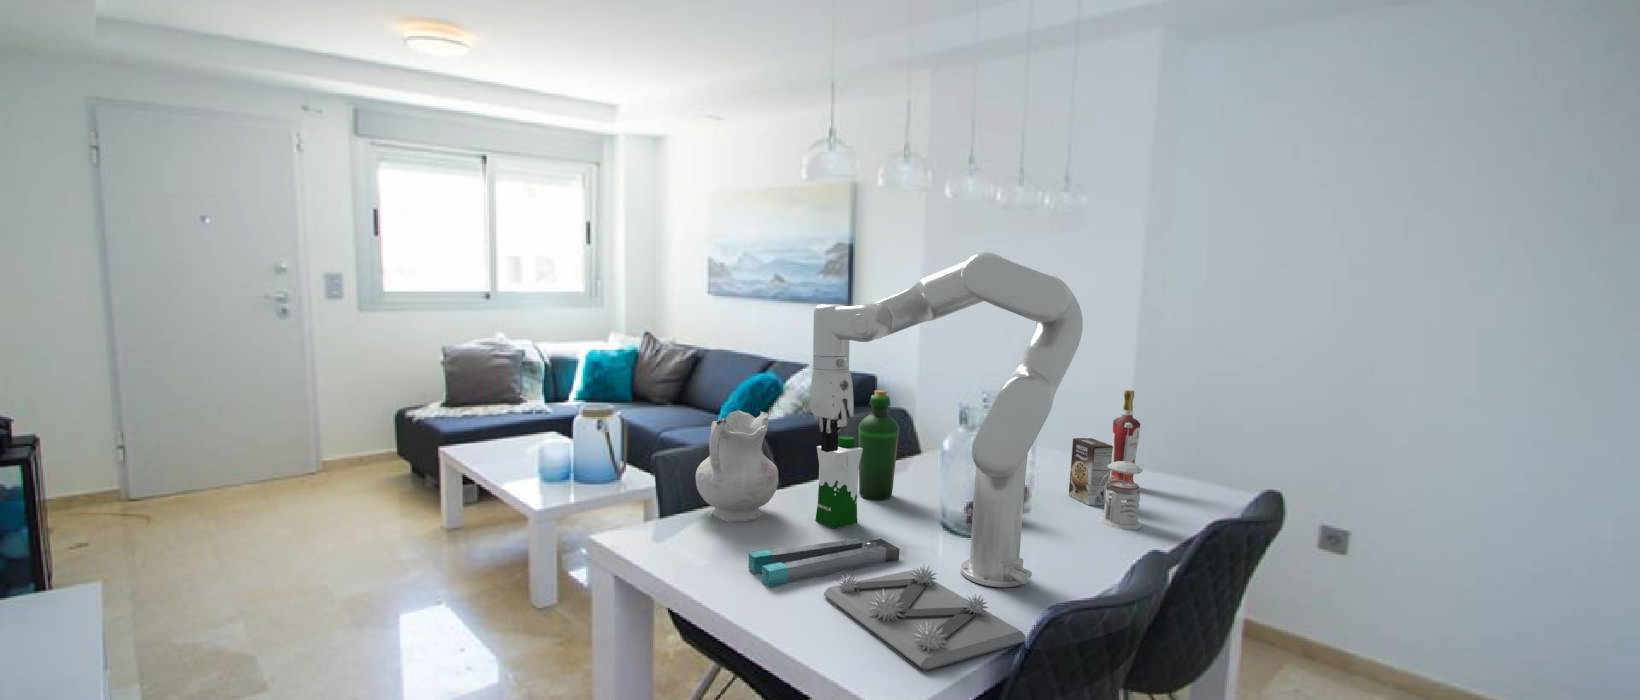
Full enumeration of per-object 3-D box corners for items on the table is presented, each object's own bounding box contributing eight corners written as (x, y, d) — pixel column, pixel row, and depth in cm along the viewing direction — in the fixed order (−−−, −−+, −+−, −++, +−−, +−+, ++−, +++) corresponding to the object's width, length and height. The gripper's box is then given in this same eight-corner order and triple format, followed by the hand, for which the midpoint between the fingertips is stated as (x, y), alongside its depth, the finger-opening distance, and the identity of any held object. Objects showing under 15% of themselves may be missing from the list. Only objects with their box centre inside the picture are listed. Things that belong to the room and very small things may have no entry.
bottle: (902, 495, 202) (908, 391, 199) (884, 504, 193) (889, 396, 190) (867, 487, 208) (872, 386, 205) (847, 496, 199) (852, 390, 196)
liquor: (1115, 481, 225) (1123, 387, 223) (1139, 487, 220) (1148, 391, 217) (1102, 484, 221) (1110, 389, 218) (1126, 491, 215) (1135, 393, 212)
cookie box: (1067, 495, 208) (1071, 437, 207) (1087, 494, 210) (1091, 437, 209) (1088, 505, 200) (1093, 445, 198) (1108, 504, 202) (1113, 444, 200)
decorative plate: (1028, 647, 123) (1032, 604, 122) (923, 678, 112) (926, 632, 111) (915, 578, 149) (917, 543, 148) (820, 598, 138) (822, 560, 137)
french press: (1150, 527, 184) (1160, 425, 182) (1113, 531, 180) (1122, 427, 177) (1121, 514, 193) (1129, 417, 191) (1084, 518, 189) (1092, 419, 186)
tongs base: (880, 549, 162) (881, 534, 162) (899, 559, 157) (900, 544, 156) (752, 574, 146) (753, 558, 146) (768, 587, 140) (769, 570, 140)
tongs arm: (867, 550, 160) (867, 535, 160) (878, 558, 156) (879, 543, 156) (748, 567, 148) (748, 552, 148) (757, 576, 144) (757, 560, 144)
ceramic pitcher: (760, 538, 168) (773, 429, 166) (676, 524, 171) (687, 416, 168) (780, 509, 190) (792, 412, 187) (705, 496, 193) (716, 400, 190)
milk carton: (862, 523, 178) (866, 439, 176) (834, 531, 172) (838, 444, 170) (837, 513, 185) (841, 432, 183) (809, 520, 179) (812, 437, 177)
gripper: (867, 366, 154) (865, 455, 156) (825, 359, 166) (824, 442, 168) (836, 368, 150) (835, 460, 151) (796, 361, 162) (795, 445, 164)
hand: (829, 450), depth 160 cm, fingers closed
